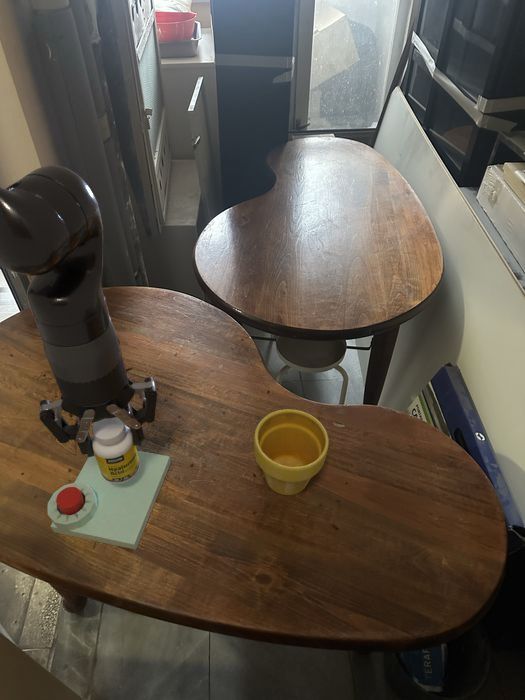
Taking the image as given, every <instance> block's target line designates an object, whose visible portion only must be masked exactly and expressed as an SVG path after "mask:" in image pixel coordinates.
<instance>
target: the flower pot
mask: <svg viewBox="0 0 525 700" xmlns="http://www.w3.org/2000/svg"><path fill="white" fill-rule="evenodd" d="M259 421H260V422H259V423H258V424H257V426H256V428H255V430H254V435H253V452H254V453H253V454H254V457H255V460H256V461H255V462H257V464H258V466H259V468H261V470H262V472H263V476H264V479H265V482H266V484H267V486H268V487H269V488H270V489H271V490H272V491H273V492H275V493H277V494H278V495H282V496H294V495H297V494H300V493H301V492H302V491H303V490H305V489H306V487H307V486H308V484H309V482H310V481H311V479H312V478H313V477H314V476H316V475H317V474H318V473H319V472H320V471H321V470H322V468H323V467H324V464H325V462H326V458H327V455H328V452H329V444H330V443H329V442H330V440H329V435H328V432H327V430H326V428H325V427H324V425H323V424H322V422H321V421H319V419H317V417H315V416H313V415H311V414H310V413H308V412H306V411H303V410H300V409H299V410H298V409H290V408H288V409H278V410H275V411H272V412H270V413H268V414H267V415H266V416H264V417H263V418H262V419H261V420H259Z"/></svg>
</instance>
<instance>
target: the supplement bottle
mask: <svg viewBox="0 0 525 700" xmlns="http://www.w3.org/2000/svg"><path fill="white" fill-rule="evenodd" d="M91 429H92V434H93V435H92V437H91V440H92V441H91V445H92V449H93V452H94V454H95V457H96V460H97V463H98V465H99V469H100V471H101V474H102V476H103V478H104V479H105V480H106V481H108V482H110V483H113V484H122V483H125V482H127V481H129V480H131V479H132V478H133V477H134V476H135V475H136V474H137V472H138V470H139V467H140V462H139V457H138V453H137V451H138V449H137V446H135V444H134V440H133V436H132V432H131V428H130V426H129V427H128V426H127V425H126V423H125V424H124V423H123V422H122V421H121V420H119V419H118V418H117V417H115V418H108V419H103V420H100V421H98V422H93V425H92V428H91Z"/></svg>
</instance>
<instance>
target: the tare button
mask: <svg viewBox="0 0 525 700" xmlns="http://www.w3.org/2000/svg"><path fill="white" fill-rule="evenodd" d="M56 503H57V505H58V507H59V509H60V511H61V512H62V513H63V514H66V515H71V514H74V513H76V512H78V511H79V510H80V509H81V508H82V506H83V504H84V498H83V496H82V494H81V492H80V490H79V489H78V488H76V487H67V488H65V489H63V490H62V491H61V492H60V493H59V494H58V495H57V498H56Z"/></svg>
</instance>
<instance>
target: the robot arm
mask: <svg viewBox="0 0 525 700" xmlns="http://www.w3.org/2000/svg"><path fill="white" fill-rule="evenodd" d="M102 218H103V217H102V212H101V209H100V206H99V203H98V200H97V198H96V197H95V194H94V192H93V191H92V189H91V188H90V186H89V185H88V184H87V182H86V181H85V180H84V179H83V178H82V177H81V176H80V175H79V174H77V173H76V172H74V171H73V170H71V169H69V168H67V167H65V166H62V165H56V164H50V165H49V164H48V165H44V166H41V167H38V168H35V169H34V170H32V171H31V172H29V173H27V174H26V175H24V176H23V177H21V178H20V179H18V180H17V181H15V182H13V183H11V185H9V186H8V187H6V188H2V187H1V186H0V267H2V268H4V269H6V270H8V271H11V272H13V273H15V274H20V275H24V276H31V277H32V279H31V281H30V283H29V285H28V287H27V290H26V291H27V292H26V294H27V296H26V297H27V303H28V306H29V308H30V311H31V314H32V316H33V319H34V321H35V324H36V326H37V327H36V328H37V329H38V331H39V334H40V337H41V342H42V346H43V347H42V348H43V351H44V354H45V357H46V360H47V362H48V364H49V367H50V369H51V371H52V374H53V377H54V379H55V383H56V384H57V387H58V390H59V391H60V398H59V399H57V400H54V401H50V400H49V399H46V398H45V399H42V400H40V401H39V421H40V422H41V423H42V424H43V425H44V426H45V427H46V428H47V430H48V431H49V432H50V433H51V434H52V436H53V437H54V438H55V439H56V440H57V441H58V442H59V443H60V444H67V443H69V441H75V442H76V443H77V446H78V448H79V451H80V453H81V454H82V455H83V456H85V455H87V458H88V457H93V456H94V452H93V449H92V445H91V441H92V437H91V435H90V430H91V427H92V424H94V423H95V422H98V421H100V420H103V419H108V418H115V417H117V418H118V419H119V420H121V421H122V422H123V423H124V424H125V425H126V424H127V425H128V426H129V428H130V430H131V432H132V436H133V440H134V444H135V446H136V447H137V446H140V445H141V442H143V441H144V440H145V435H144V429H143V425H144V424H145V423H147V424H152V423H154V422H155V419H156V411H157V400H158V390H157V385H156V382H155V378H154V377H152V376H148V377H146V378H145V379H144V381H143V382H136V383H134V382H133V381H132V380H131V379H130V378H129V377H128V373H127V370H126V366H125V363H124V357H123V354H122V350H121V345H120V343H121V342H120V338H119V337H118V335H117V331H116V328H115V326H114V324H113V322H112V319H111V317H110V312H109V307H108V304H107V300H106V297H105V293H104V289H103V271H104V226H103V219H102ZM135 395H138V397H139V399H141V400H142V407H141V408H139V409H138V408H137V407H136V406H134V405H133V404H132V402H131V401H132V399H133V397H134V396H135ZM62 411H64V412H66V413H68V414H69V415H71V416H74V417H76V418H75V421H74V424H69V423H68V421H67V420H66V419H65V417H64V416H63V415H62Z"/></svg>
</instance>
